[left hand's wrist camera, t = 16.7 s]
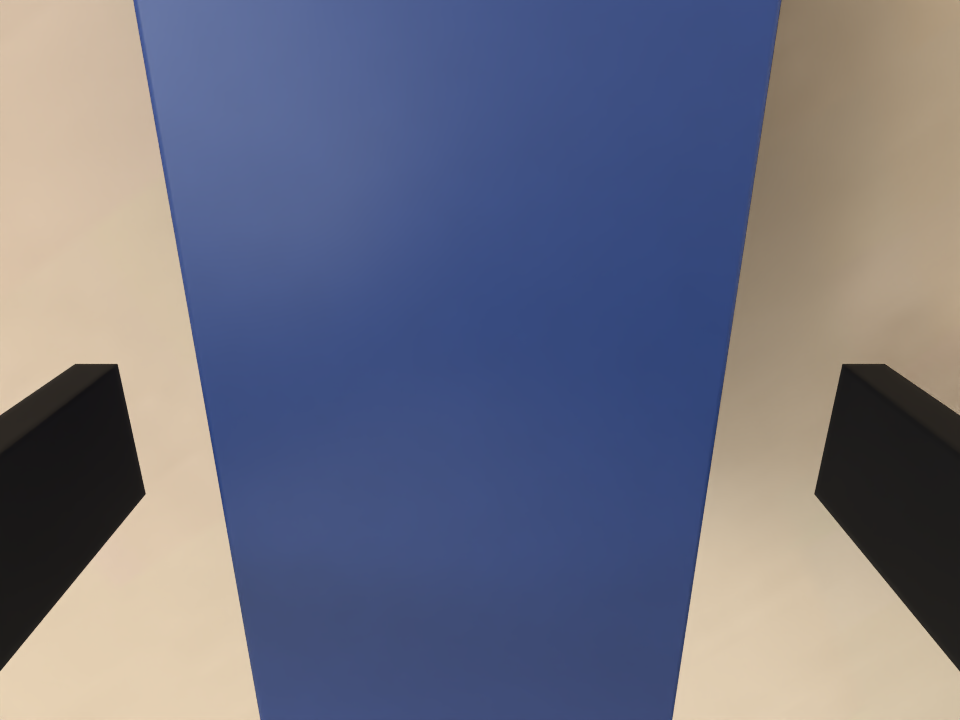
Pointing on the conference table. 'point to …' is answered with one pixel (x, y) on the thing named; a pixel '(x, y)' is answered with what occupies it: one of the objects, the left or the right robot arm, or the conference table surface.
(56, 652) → the conference table surface
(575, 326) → the box
